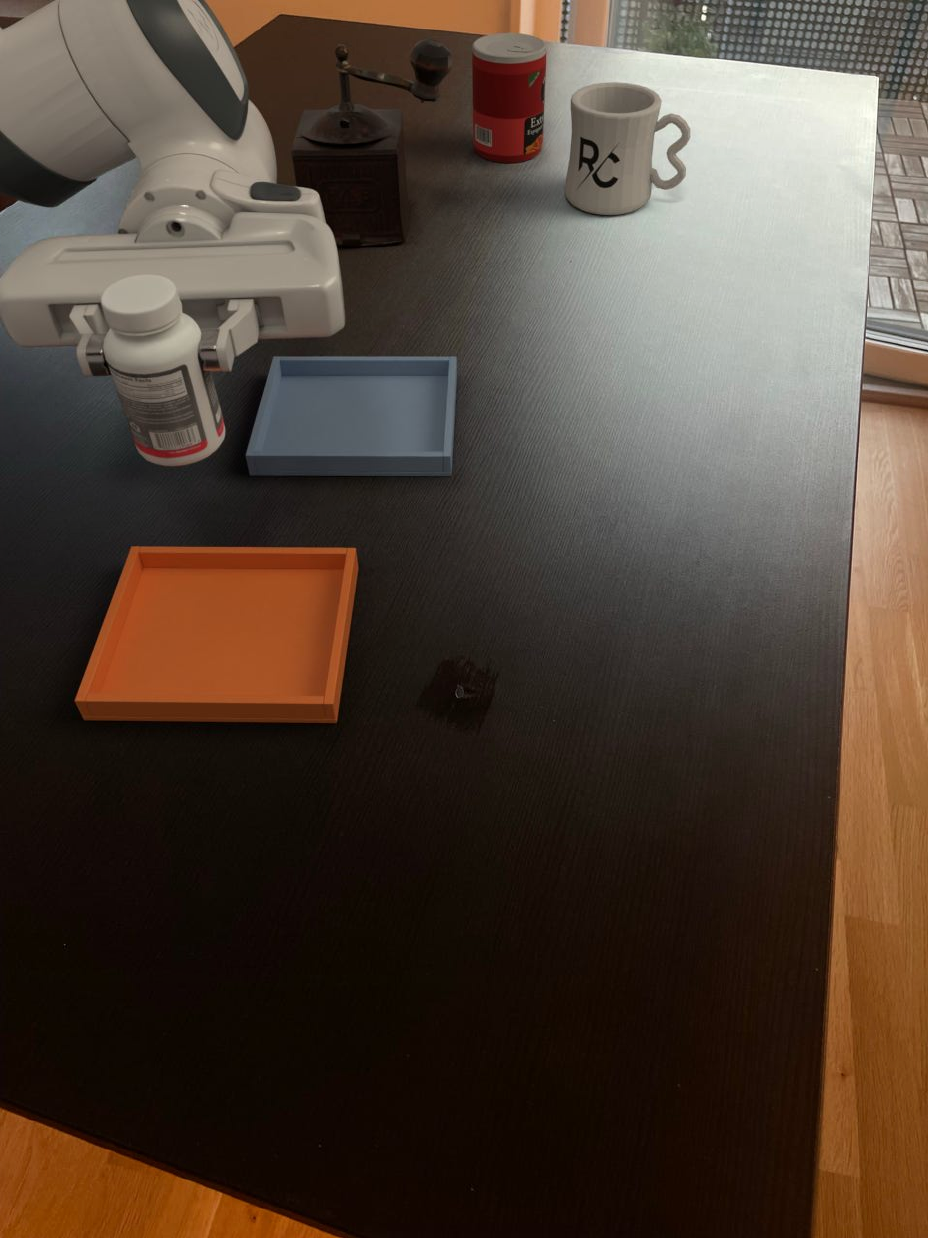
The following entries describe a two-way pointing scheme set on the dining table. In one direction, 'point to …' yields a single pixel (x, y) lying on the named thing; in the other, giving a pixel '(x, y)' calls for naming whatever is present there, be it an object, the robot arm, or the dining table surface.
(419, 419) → the blue tray
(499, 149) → the canned food
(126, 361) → the pill bottle
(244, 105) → the robot arm
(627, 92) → the mug
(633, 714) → the dining table surface
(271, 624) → the orange tray
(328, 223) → the manual coffee grinder
